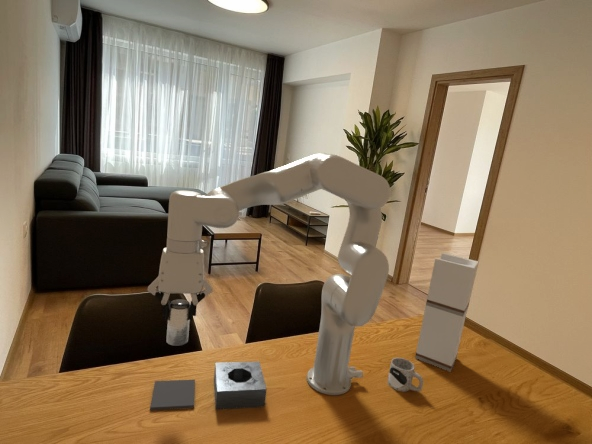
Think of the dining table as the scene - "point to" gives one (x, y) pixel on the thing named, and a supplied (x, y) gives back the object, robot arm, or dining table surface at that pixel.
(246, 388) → the housing
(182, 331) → the silver metal cylinder
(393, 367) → the mug
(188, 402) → the rubber pad
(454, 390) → the dining table surface
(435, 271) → the white mini fridge
